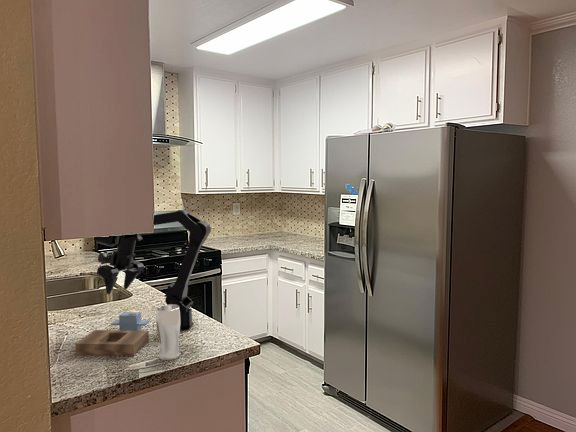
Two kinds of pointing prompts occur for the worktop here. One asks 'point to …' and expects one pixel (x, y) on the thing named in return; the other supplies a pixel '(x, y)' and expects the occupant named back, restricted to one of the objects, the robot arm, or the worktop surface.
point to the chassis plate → (112, 342)
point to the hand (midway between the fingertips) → (116, 291)
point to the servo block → (130, 321)
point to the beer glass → (168, 331)
